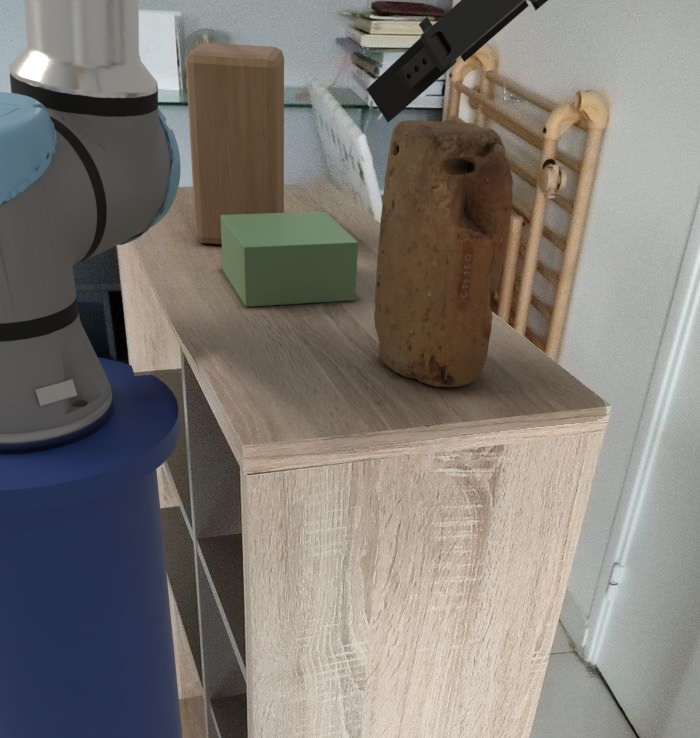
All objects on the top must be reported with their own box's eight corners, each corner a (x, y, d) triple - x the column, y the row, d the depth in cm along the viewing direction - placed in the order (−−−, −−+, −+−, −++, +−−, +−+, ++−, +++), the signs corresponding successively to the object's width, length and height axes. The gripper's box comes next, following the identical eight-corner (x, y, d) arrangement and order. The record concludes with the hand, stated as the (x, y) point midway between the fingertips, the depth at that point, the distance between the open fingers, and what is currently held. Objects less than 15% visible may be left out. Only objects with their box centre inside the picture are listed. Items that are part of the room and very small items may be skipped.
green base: (245, 307, 93) (244, 247, 89) (222, 270, 102) (220, 214, 98) (355, 300, 96) (358, 242, 92) (323, 265, 105) (325, 211, 101)
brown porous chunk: (363, 355, 84) (378, 114, 72) (428, 343, 87) (453, 110, 75) (431, 400, 77) (460, 141, 65) (498, 384, 80) (538, 135, 68)
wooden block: (194, 245, 109) (183, 51, 96) (207, 223, 116) (199, 41, 104) (276, 250, 109) (276, 57, 96) (284, 227, 116) (284, 46, 104)
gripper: (627, -30, 49) (373, 180, 65) (741, -129, 62) (508, 64, 78) (555, -172, 46) (309, 83, 62) (690, -243, 60) (460, -18, 76)
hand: (419, 73), depth 70 cm, fingers open, 13 cm apart
